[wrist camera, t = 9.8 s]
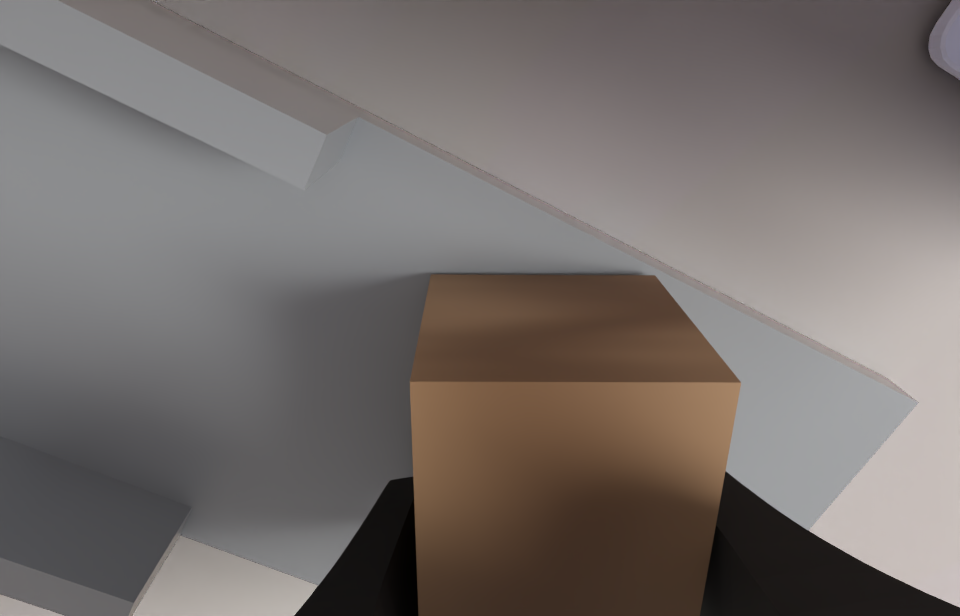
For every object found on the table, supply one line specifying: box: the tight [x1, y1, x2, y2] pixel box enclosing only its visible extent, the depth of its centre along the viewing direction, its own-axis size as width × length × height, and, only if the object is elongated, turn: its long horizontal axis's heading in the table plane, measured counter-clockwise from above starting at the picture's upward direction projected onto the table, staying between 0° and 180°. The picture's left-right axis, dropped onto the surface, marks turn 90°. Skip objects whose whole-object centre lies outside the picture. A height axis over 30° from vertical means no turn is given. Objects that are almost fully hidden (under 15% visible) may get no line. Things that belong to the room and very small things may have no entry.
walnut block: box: [410, 274, 741, 616], centre depth 11 cm, size 4×5×4 cm
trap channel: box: [0, 0, 919, 616], centre depth 11 cm, size 26×10×4 cm, turn 63°
